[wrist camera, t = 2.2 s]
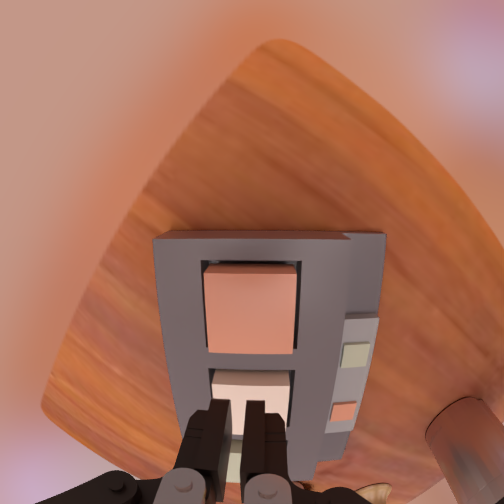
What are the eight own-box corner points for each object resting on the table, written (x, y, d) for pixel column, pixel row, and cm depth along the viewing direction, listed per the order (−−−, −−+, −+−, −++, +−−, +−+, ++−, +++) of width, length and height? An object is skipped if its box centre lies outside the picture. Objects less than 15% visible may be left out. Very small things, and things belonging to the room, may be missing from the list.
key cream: (288, 367, 23) (290, 385, 21) (284, 416, 24) (285, 435, 22) (216, 366, 23) (211, 383, 21) (220, 415, 25) (217, 433, 22)
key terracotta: (293, 264, 21) (296, 274, 19) (289, 337, 22) (292, 354, 20) (210, 263, 21) (203, 273, 19) (214, 336, 23) (208, 352, 20)
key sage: (282, 436, 25) (283, 453, 23) (278, 467, 26) (279, 483, 24) (222, 434, 25) (219, 452, 23) (226, 465, 27) (223, 481, 24)
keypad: (382, 232, 23) (401, 240, 19) (339, 453, 29) (345, 476, 25) (169, 230, 24) (152, 238, 20) (198, 453, 30) (192, 476, 26)
